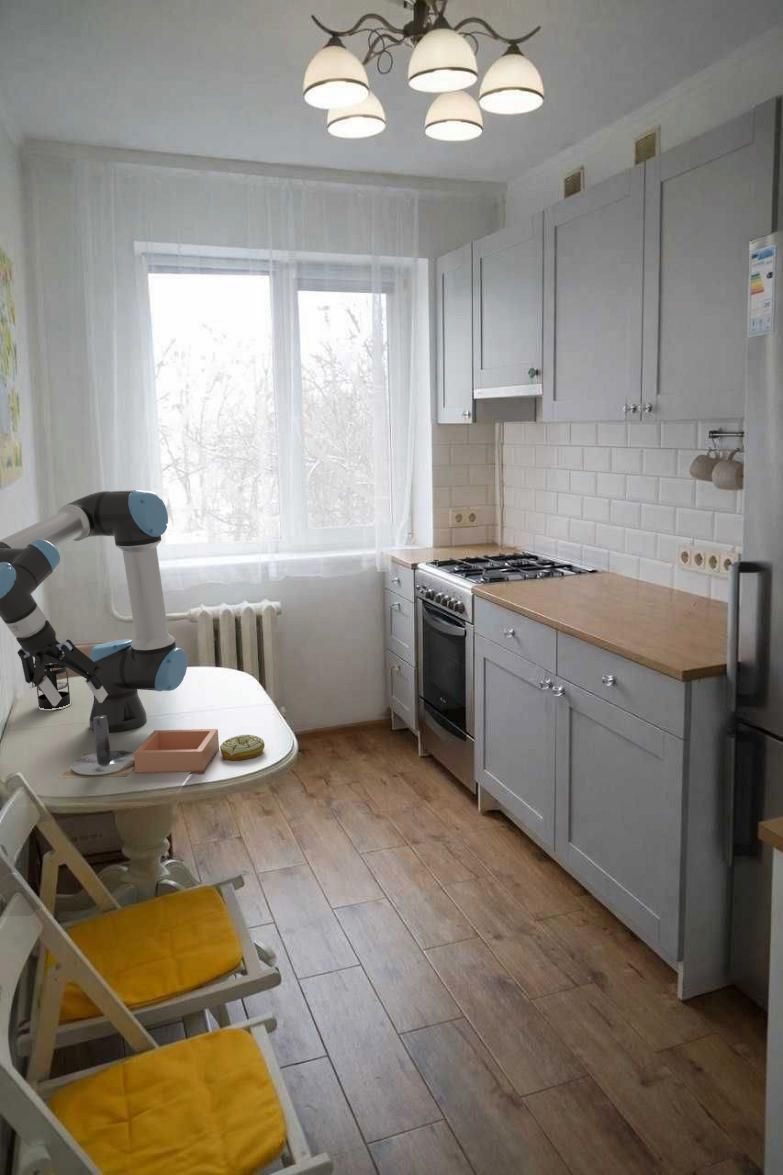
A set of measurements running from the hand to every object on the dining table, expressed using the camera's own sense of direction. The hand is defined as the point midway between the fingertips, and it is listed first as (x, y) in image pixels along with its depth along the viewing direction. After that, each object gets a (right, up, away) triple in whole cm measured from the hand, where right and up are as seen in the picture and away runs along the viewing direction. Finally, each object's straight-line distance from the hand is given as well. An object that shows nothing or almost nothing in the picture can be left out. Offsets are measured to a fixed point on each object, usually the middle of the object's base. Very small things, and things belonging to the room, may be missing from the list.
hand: (80, 700), depth 203 cm
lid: (+2, -17, +11) cm, 20 cm away
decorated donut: (+34, -16, +17) cm, 41 cm away
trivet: (+2, -17, +11) cm, 21 cm away
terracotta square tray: (+19, -16, +13) cm, 28 cm away
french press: (-30, -10, +64) cm, 71 cm away
